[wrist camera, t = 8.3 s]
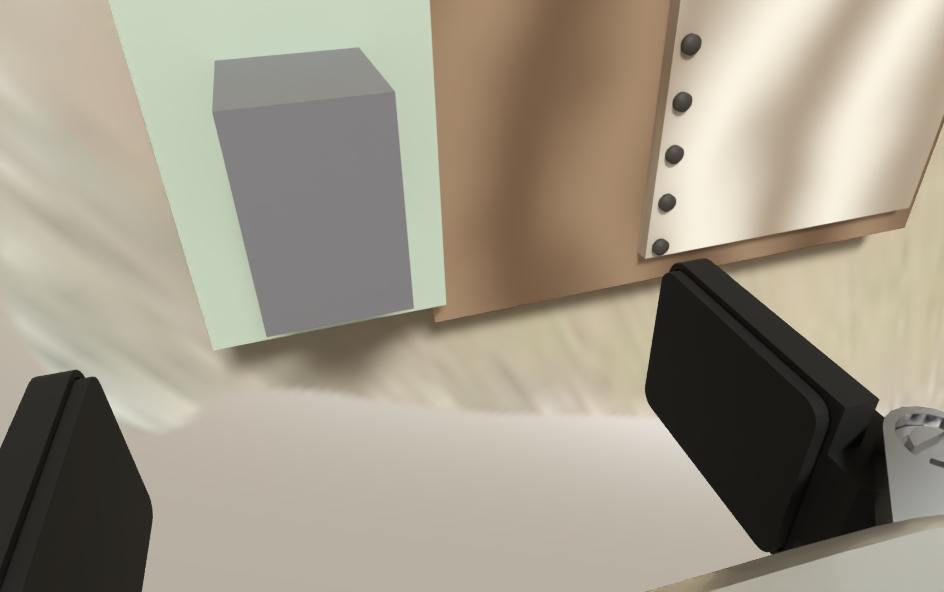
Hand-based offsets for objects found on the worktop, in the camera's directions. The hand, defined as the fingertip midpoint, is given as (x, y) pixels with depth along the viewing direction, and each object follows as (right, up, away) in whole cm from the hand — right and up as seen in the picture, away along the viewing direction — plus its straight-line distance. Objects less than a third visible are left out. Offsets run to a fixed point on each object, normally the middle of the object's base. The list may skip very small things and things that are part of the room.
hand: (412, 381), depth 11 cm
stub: (-4, +6, +10) cm, 12 cm away
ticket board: (+10, +10, +16) cm, 21 cm away
